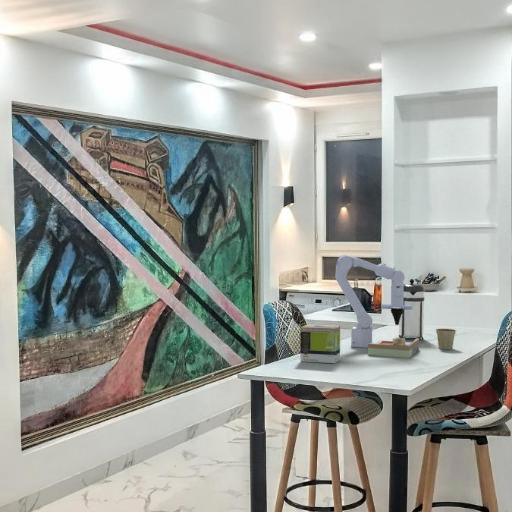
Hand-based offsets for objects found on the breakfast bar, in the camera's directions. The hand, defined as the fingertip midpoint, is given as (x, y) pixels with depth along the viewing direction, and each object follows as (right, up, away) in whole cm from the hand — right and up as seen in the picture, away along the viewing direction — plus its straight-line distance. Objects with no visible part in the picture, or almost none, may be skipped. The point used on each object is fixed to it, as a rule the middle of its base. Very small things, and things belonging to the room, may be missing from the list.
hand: (397, 324), depth 369 cm
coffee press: (+11, -10, +28) cm, 32 cm away
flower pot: (+22, -11, -3) cm, 25 cm away
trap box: (-4, -11, -14) cm, 18 cm away
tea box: (-39, -12, -38) cm, 56 cm away
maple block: (-4, -9, -24) cm, 26 cm away
